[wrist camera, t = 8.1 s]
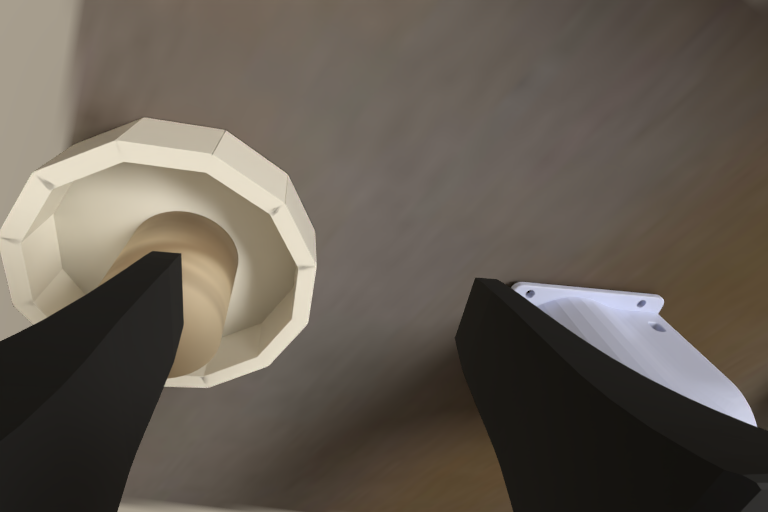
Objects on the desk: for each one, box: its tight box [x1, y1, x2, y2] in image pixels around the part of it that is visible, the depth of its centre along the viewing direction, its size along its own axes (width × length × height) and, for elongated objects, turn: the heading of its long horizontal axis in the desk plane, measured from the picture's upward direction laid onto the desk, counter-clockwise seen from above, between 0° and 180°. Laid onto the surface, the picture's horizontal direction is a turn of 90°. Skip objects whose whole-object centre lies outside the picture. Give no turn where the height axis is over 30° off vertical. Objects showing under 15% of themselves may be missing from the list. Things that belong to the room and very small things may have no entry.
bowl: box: [0, 118, 317, 388], centre depth 19 cm, size 11×11×3 cm
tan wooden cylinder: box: [98, 211, 238, 379], centre depth 17 cm, size 4×4×5 cm
